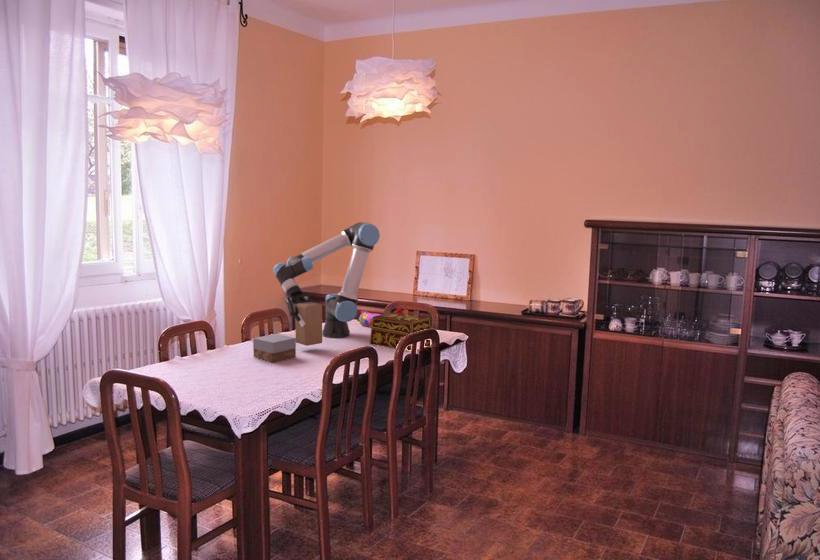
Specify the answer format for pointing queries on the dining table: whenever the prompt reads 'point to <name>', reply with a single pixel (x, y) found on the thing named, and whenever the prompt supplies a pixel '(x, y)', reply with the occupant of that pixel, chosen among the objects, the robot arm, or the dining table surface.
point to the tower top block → (274, 343)
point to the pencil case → (366, 318)
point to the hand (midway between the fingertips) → (312, 324)
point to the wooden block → (309, 323)
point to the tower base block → (275, 355)
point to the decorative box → (396, 328)
